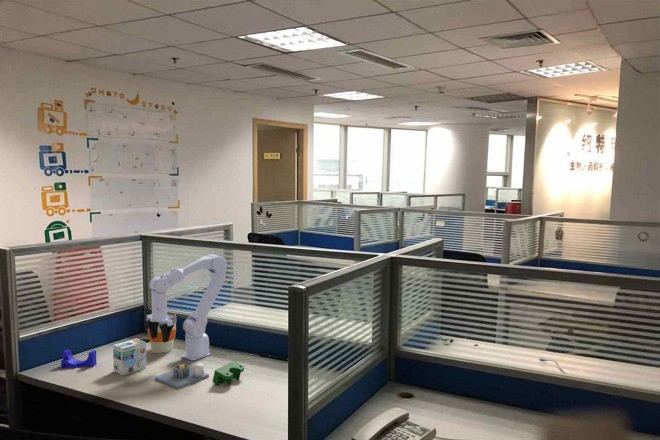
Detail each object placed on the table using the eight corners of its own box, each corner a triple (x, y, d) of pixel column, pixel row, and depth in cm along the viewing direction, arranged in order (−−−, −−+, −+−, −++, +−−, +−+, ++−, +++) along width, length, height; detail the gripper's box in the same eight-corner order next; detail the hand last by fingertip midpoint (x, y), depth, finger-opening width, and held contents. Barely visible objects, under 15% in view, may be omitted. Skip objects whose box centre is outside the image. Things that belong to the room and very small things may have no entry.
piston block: (185, 368, 206) (185, 356, 206) (208, 376, 198) (208, 364, 197) (154, 379, 195) (154, 366, 194) (178, 388, 186) (178, 375, 186)
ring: (183, 371, 200) (182, 362, 200) (192, 375, 197) (192, 366, 196) (170, 376, 195) (170, 367, 195) (180, 379, 192) (180, 370, 192)
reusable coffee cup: (170, 342, 237) (169, 310, 235) (181, 350, 227) (181, 316, 226) (142, 348, 229) (142, 315, 227) (153, 356, 219) (152, 321, 218)
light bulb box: (122, 375, 198) (121, 348, 197) (112, 371, 202) (112, 344, 201) (147, 367, 206) (146, 341, 205) (137, 363, 210) (136, 337, 210)
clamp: (226, 397, 190) (224, 380, 186) (213, 390, 193) (211, 373, 188) (246, 375, 199) (245, 358, 194) (234, 369, 202) (232, 352, 197)
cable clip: (61, 368, 205) (60, 353, 205) (67, 364, 210) (66, 349, 209) (91, 368, 205) (90, 354, 204) (96, 364, 210) (96, 350, 209)
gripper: (139, 306, 210) (140, 338, 211) (161, 312, 201) (162, 346, 202) (154, 302, 215) (155, 334, 216) (177, 308, 207) (177, 341, 208)
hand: (159, 340), depth 210 cm, fingers open, 7 cm apart
